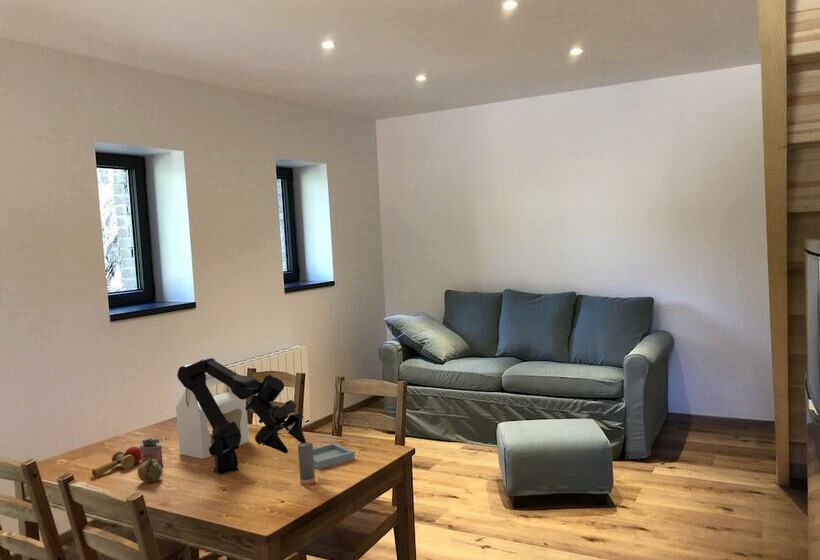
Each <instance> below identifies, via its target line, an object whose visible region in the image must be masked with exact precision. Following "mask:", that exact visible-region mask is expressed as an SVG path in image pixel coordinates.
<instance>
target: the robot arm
mask: <svg viewBox="0 0 820 560" xmlns="http://www.w3.org/2000/svg"><path fill="white" fill-rule="evenodd" d="M206 374H209V375H211V376H212V377H214V378H216V379H217V380H219V381H221V382H222V383H221V384H223V385H224V384H226V385H227V386H229V387H230V388H231V391H232V393H233V394H234V395H236V396H237V397H238V398H239V399H241V400H244V399H246V408H245V410H246V411H247V412H248V411H250V410H251V409H252V411H254V412H253V413H255V414H256V415H257V417H258V418H259V419H258V422H259V424H262V423H263V424H264V426H262V427H261V428H260V429H259V430H258V432H257V433H256V434H255V435H254V440H255V442H256V444H258V446H260V445H262V446H266V447H269V448H272V449H275V450H277V451H279V452H282V453H284V454H288V453H289V450H288V448H287V446H286V445H285V444H284V442H283V441H282V440H281V438H280V437H279V431H281V430H286V431H288V432H287V433H288V434H289V435H290V436H291V437H293V438H294V439H295V440H297V441H298V442H299V443H305V442H307V441H306V438H305V435H304V433H303V430H302V422H303V419H304V416H303V414H302V413H301V412H298V411H297V412H296V409H297V404H296V402H295V401H293V400H292V399H290V400H288V401H286V402H285V403H284V405H282V406H279V405H275V406H274V404H273V403H272V402H274V401H275V400H277V398H278V397H279V395H280V394H281V393H282V391H283V390H284V389H285V383H284V382H283V381H282V379H279V378H277V377H275V376H272V374H268V375H266V376H265V377H264V379H263V381H258V380H257V379H256V378H254V377H251V376H247V375H242V374H238V373H237V372H235V371H233V370H231V369H230V368H228V367H226V366H225V365H223V364H221V363H220V362H218V361H216V359H215V358H213V357H207V358H202V359H200V360H199V361H197V362H194V363H190V364H185V365H182V366H180V367H179V368H178V371H177V375H176V376H177V380H179V382H180V383H181V385H182V386H183V387H184V388H185V389H189V390H191V391H192V392H193V394H194V396H195V397H196V399H197V401H198V403H199V405H200V406H201V408H202V410H203V412H204V413H205V415H206V417H207V419H208V421H207V422H208V423H209V424H210V426H211V428H212V433H211V434H212V438H213V440H214V443H213V444H212V445H211V447H210V448H209V452H210V455H213V456H214V457H213V458H214V468H213V469H212V470H213V471H214V472H216V473H217V474H219V475H223V474H226V473H231V472H235V471H238V470H239V467H238V466H239V465H238V461H239V460H238V454H237V453H236V450H239V448H240V445H239V444H240V441H241V434H240V432H241V431H240V430H239V429H238V427H237V425H236V423H235V422H234V421H233V422H231V423H230V422H228V421H227V420H226V419H225V417H224V415H223V414H222V412H221V410H220V408H219V407H218V405H217V403H216V401H215V400H214V398H213V396H214V395H212V392H211V390H210V389H209V387H207V385H206ZM250 398H251V399H250ZM247 399H250V400H247Z"/></svg>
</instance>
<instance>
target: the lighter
mask: <svg viewBox="0 0 820 560" xmlns="http://www.w3.org/2000/svg"><path fill="white" fill-rule="evenodd" d="M141 441H142V444H141V445H139V448H140V451H141V460H140V461H141V463H140V464H142V463H144V462H146V461H148V460H149V459H148V458H150V459H155V460H157V462H158V464H159V465H160V466H161V468H162V469H163V468H164V463H163V455H162V454H163V453H162V449H163V448H162V446H163V445H162V444H159V443H160V439H159V438H152V437H149V438H148V439H147V438H146V439H145V438H143V439H142V440H141Z"/></svg>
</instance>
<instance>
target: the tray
mask: <svg viewBox="0 0 820 560" xmlns="http://www.w3.org/2000/svg"><path fill="white" fill-rule="evenodd" d="M355 455H356V454H355V451H353V450H351V449H348V448H346V447H344V446H343V445H340V444H337V443H335V442H333V443H332V442H331V443H328V444H324V445H321V446H316V447H313V458H314V469H317V470H321V469H325V468H328V467H332V466H335V465H338V464H342V463H345V462H349V461H350V462H351V461H352V460H355Z"/></svg>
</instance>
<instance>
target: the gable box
mask: <svg viewBox="0 0 820 560" xmlns="http://www.w3.org/2000/svg"><path fill="white" fill-rule="evenodd" d="M205 374H206V385H207V387H208V388H209V387H214V386H216V385H219V384H223V387H222V388H223V389H222V392H221V393H218V394H214V395H212V396H213V398H214V400H215V401H216V403H217V405H218V407H219V408H220V410H221V412H222V414H223V415H224V417H225V419H226V420H227V421H228V422H230V423H231V422H233V421H234V422H235V423H236V425H237V427H238V429H239V430H240V431H241V432H240V434H241V441H240V444H239V446H241V445H244V444H246V443H249V441H250V437H249V425H248V410H247V411H246V410H245V408H246V402H247V399H244V400H241V399H239V398H238V397H237V396H236V395H234V394H233V393H232V391H231V388H230V387H229V386H227V385H226V384H224V383H222V382H221V381H219V380H217V379H216V378H214V377H212V376H211V375H209V374H207V373H205ZM175 414H176V423H177V424H176V425H177V436H178V448H179V449H178V450H179V455H183V456H187V457H192V458H196V459H202V460H205V459H208V458H210V457H212V456H214V455H210V452H209V448H210V447H211V445H212V444H213V443H214V440H213V438H212V433H210V429H209V427H208V422H209V421H208V419H207V417H206V415H205V413H204V412H203V410H202V408H201V406H200V405H199V403H198V401H197V399H196V397H195V396H194V394H193V392H192V391H191V390H189V389H187V388H185V390H184V392H183V394H182V396H181V397H180V399H179V402H178V403H177V405H176V407H175Z"/></svg>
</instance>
